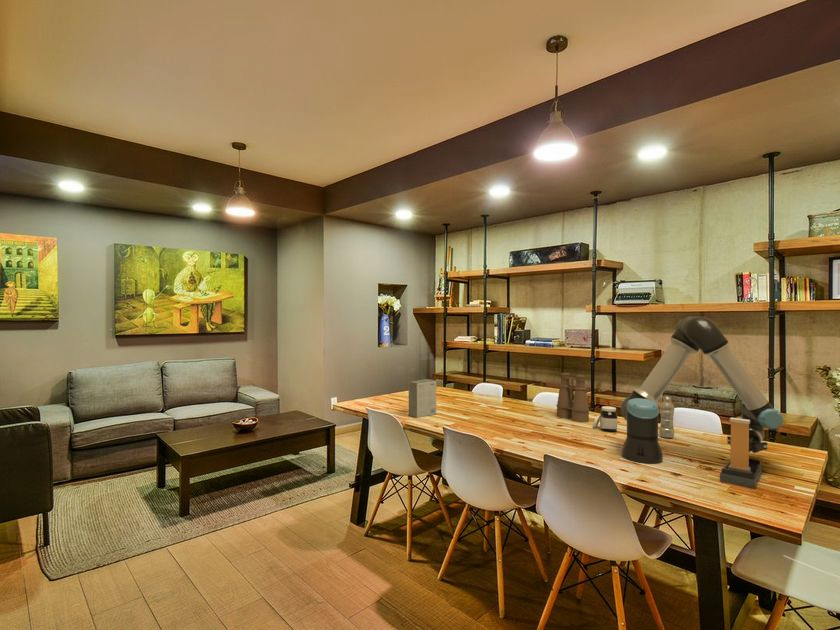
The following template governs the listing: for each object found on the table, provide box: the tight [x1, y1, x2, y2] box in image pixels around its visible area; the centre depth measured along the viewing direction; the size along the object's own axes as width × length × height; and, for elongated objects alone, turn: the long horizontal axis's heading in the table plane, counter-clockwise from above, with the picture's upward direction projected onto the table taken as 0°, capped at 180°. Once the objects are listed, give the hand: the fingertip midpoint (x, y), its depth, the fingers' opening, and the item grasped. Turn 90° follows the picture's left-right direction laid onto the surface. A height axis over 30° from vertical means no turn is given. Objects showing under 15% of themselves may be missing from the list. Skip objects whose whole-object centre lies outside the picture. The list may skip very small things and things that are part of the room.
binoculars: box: [555, 372, 591, 423], centre depth 260 cm, size 21×10×25 cm, turn 31°
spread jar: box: [592, 405, 618, 433], centre depth 235 cm, size 12×11×12 cm
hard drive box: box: [408, 378, 437, 418], centre depth 264 cm, size 16×8×20 cm, turn 130°
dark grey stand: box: [719, 457, 763, 490], centre depth 166 cm, size 22×10×5 cm, turn 138°
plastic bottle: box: [658, 395, 676, 439], centre depth 220 cm, size 6×7×20 cm
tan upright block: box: [728, 417, 751, 473], centre depth 162 cm, size 5×6×18 cm
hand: (741, 451), depth 163 cm, fingers closed
